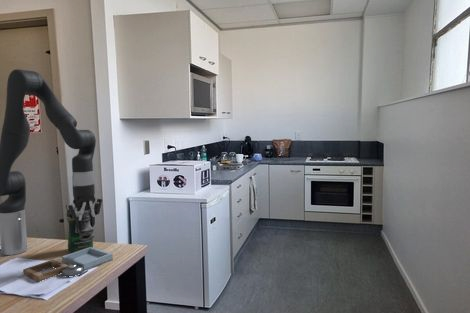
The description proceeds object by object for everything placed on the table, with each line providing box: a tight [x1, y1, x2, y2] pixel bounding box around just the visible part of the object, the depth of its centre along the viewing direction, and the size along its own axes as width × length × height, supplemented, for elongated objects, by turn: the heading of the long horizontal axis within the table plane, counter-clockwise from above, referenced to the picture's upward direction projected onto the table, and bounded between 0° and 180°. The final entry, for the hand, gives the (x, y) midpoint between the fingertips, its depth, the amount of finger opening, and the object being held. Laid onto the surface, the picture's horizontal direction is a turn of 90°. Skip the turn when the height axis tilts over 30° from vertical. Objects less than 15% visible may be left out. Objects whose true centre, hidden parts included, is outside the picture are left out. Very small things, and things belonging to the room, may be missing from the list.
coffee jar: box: [66, 206, 94, 253], centre depth 143 cm, size 10×8×19 cm
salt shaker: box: [78, 210, 95, 240], centre depth 130 cm, size 6×6×12 cm
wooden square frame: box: [22, 259, 69, 283], centre depth 121 cm, size 10×10×2 cm
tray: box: [61, 247, 114, 272], centre depth 131 cm, size 14×12×2 cm
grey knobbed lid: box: [61, 264, 85, 278], centre depth 121 cm, size 7×7×3 cm
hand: (85, 227), depth 130 cm, fingers closed on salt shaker, 4 cm apart
